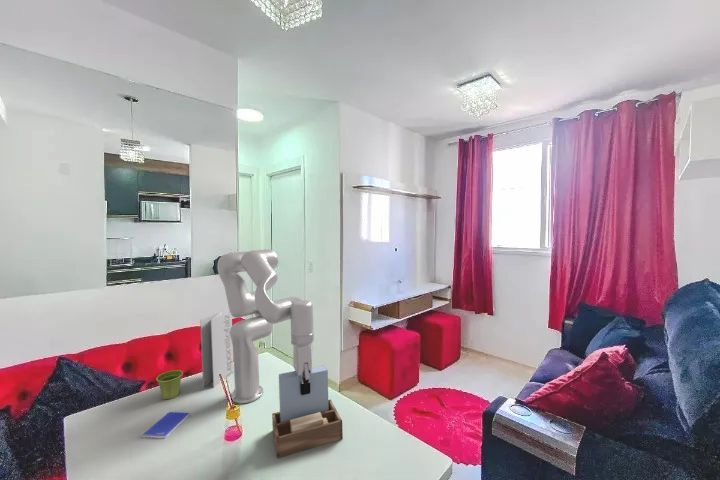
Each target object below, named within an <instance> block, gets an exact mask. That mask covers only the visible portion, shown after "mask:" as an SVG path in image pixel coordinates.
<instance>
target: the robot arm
mask: <svg viewBox="0 0 720 480" xmlns="http://www.w3.org/2000/svg"><path fill="white" fill-rule="evenodd" d="M278 265H279V257H278V254H277V253H276V252H275V251H274V250H272V249H269V248H268V249H255V250H248V251H236V252H235V251H234V252H229V253H224V254H222V255H221V256H220V257H219V258H218V261H217V273H218V276H219V278H220V280H221V283H222V284H223V286H224V287H223V288H224V291H225V296H226V301H227V304H228V309H229V312H230V313H231V315H232V318H234V319H235V318H238V319H239V318H243V317H247V316H251V315H255V316H254V317H250V318H245V319H242V320H240V321H237V322H235V323H234V324H232V327H231V329H230V337H231V341H232V346H233V365H234V372H233V373H234V374H233V376H234V390H233V391H232V393H231V395H230V399H231V398H232V400H233V401H232V400H231V401H232V402H233V403H235V404H248V403H251V402H254V401H257V400H258V399H260V398H261V397H262V396H263V394H264V388H263V387H262V385H260V371H259V368H260V367H259V366H260V365H259V351H258V348H257V347H256V346H254V344H253V343H254V342H255V341H258V340H260V339H264V338H266V337H269V336H270V335H271V334H272V333H273V330H274V324H279V323H283V322H284V321H288V320H290V338H291V339H290V343H291V344H290V345H293V348H292V351H293V352H292V353H293V354H292V357H293V358H292V359H293V360H292V365H293V369H294V371H295V372H296V374H297V376H300V375H301V383H300V391H301V395H306V394H310V375H309V373H310V374H311V373H312V368H313V362H312V361H313V359H312V357H313V356H312V355H313V354H312V344H313V343H314V341H315V340H314V307H313V303H312V302H311V301H310V300H305V299H304V300H303V299H301V298H299V297H297V296H289V297H286V298H285V297H284V298H281V299H277V300H274V301H273V300H271V299H270V297H269V296H268V294H267V292H268V290H270V289H271V288H272V287H274V285H276V283H277V282H278V279H279V278H278V277H279V276H278V274H277V273H276V271H275V270H274V269H276V268H277V267H278ZM242 272H243V273H244V272H246V273H247V275H248V276H249V277H250V280H251V281H252V282H253V284H254V285H255V286H256V288H255V290H254V291H249V290H248V287H247V286H248V285H247V283H246V280H245V279H244V278H243V277H242V276H241V275H240V274H238V273H242ZM303 372H304V373H303ZM303 376H305V378H303Z"/></svg>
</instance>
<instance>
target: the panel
mask: <svg viewBox="0 0 720 480" xmlns="http://www.w3.org/2000/svg"><path fill="white" fill-rule="evenodd" d="M303 373H304V372H303ZM309 375H310V394H306V395H301V391H300V383H301V375H300V376H297V374H296V372H295V370H294V371H288V372H283V373H279V374H278V389H279V390H278V394H279V398H278V399H279V400H278V401H279V412H280V423H283V422H287V421H290V420H291V419H295V418H299V417H303V416H307V415H311V414H314V413H318V412H320V413H322V412H326V411H329V406H328V400H329V378H328V377H329V374H328V368H327V366H326V365H325V364H324V365H320V366H312V373H311V374H310V373H309ZM303 378H305V376H303Z"/></svg>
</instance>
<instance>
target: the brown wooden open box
mask: <svg viewBox="0 0 720 480" xmlns="http://www.w3.org/2000/svg"><path fill="white" fill-rule="evenodd" d="M328 406H329V411H326V412H322V413H321V415H322V417H323V418H326V419H327V421H328V423H327V424H323V425H320V426H316V427H312V428H309V429H305V430H301V431H297V432H294V433H290V421H287V422H283V423H280V411H277V412H273V413H272V414H271V417H272V421H271V422H272V435H273V440H274V447H275V448H274V449H275V453H276V458H277V459H280V458H283V457H286V456H290V455H293V454H297V453H300V452H302V451H306V450H307V451H308V450H310V449H313V448H317V447H320V446H323V445H324V446H325V445H326V444H330V443H333V442H334V443H335V442H337V441H340V440H343V434H344V433H343V420H342V418H341V417H340V414H339V412H338V411H337V408H336V407H335V405H334V402H333V401H332V399H328Z"/></svg>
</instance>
